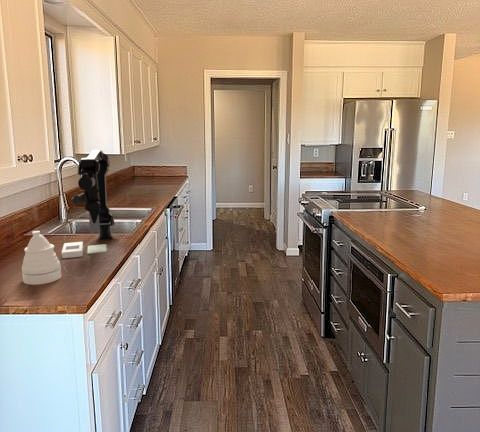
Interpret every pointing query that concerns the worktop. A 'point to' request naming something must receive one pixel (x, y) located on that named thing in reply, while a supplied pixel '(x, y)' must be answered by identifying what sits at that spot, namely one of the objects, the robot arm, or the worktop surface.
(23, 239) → the worktop surface
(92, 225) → the grey rectangular block
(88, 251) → the green pad
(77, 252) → the cream window plate
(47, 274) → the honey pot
